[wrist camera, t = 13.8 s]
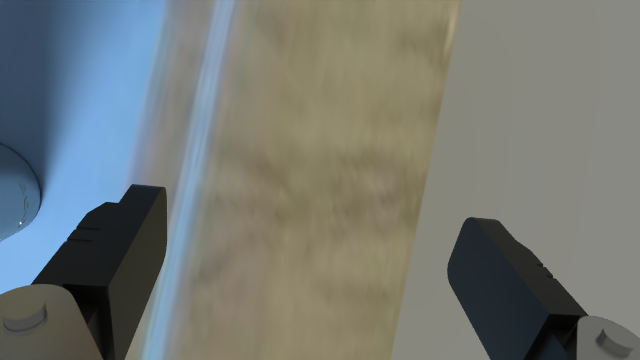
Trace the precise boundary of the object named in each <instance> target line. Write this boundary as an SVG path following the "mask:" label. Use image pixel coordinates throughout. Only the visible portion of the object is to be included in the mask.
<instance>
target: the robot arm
mask: <svg viewBox="0 0 640 360" xmlns="http://www.w3.org/2000/svg"><path fill="white" fill-rule="evenodd" d="M39 204H40V189H39V185H38V182H37V179H36V177H35V175H34V173H33V171H32V169H31V168H30V167H29V166H28V164H27V163H26V162H25V161H24V160H23V159H22V158H21V157H20V156H19V155H18V154H17V153H15V152H14V151H12V150H11V149H9V148H7V147H6V146H3V145H1V144H0V242H1V241H3V240H4V239H6V238H8V237H10V236H12V235H13V234H15V233H17V232H19V231H20V230H22V229H23V228H25V227H26V226H28V225H29V224H30V223H31V221H32V220H33V219H34V218H35V216H36V214H37V212H38V209H39ZM166 247H167V195H166V189H165V187H157V186H147V185H136V184H132V185H131V186H130V187H129V189H128V190H127V192H126V193H125V195H124V196H123V197H122V199H121V200H120V202H119V203H112V202H105V203H104V204H102V205H100V206H99V207H97V208H95V209H93V210H92V211H90V212H88V213H87V214H86V216H85V217H84V218H83V219H82V221H81V222H80V223H79V224H78V226H77V228H76V230H74V231H73V232H72V233H71V234H70V236H69V237H68V238H67V242H64V243H63V244H62V246H61V247H60V248H59V249H58V251H57V252H56V253H55V255H54V256H53V257H52V258H51V260H50V261H49V262H48V263H47V265H46V266H45V267H44V268H43V270H42V271H41V272H40V273H39V275H38V276H37V277H36V278H35V280H34V281H33V282H32V283H31V285H28V286H23V287H19V288H16V289H13V290H10V291H7V292H5V293H3V294H1V295H0V360H124V359H125V357H126V354H127V352H128V349H129V347H130V344H131V342H132V339H133V337H134V334H135V332H136V329H137V327H138V324H139V322H140V319H141V317H142V315H143V312H144V310H145V307H146V305H147V302H148V300H149V297H150V295H151V292H152V290H153V287H154V285H155V282H156V280H157V277H158V275H159V272H160V270H161V267H162V265H163V262H164V258H165V254H166ZM447 272H448V280H449V283H450V285H451V287H452V289H453V291H454V293H455V294H456V296H457V298H458V300H459V302H460V304H461V306H462V307H463V309H464V311H465V313H466V315H467V317H468V319H469V320H470V322H471V324H472V326H473V328H474V330H475V332H476V333H477V335H478V337H479V339H480V341H481V343H482V345H483V346H484V348H485V350H486V352H487V354H488V356H489V357H490V359H491V360H640V339H639V338H638V337H637V336H636V335H635V334H633V333H632V332H630V331H629V330H627V329H626V328H624V327H622V326H621V325H619V324H617V323H615V322H612V321H610V320H608V319H604V318H601V317H596V316H589V315H588V314H587V313H586V312H585V311H584V310H583V309H582V307H581V306H580V305H579V304H578V303H577V302H576V301H575V300H574V299H573V297H572V296H571V295H570V294H569V293H568V292H567V291H566V290H565V288H564V287H563V286H562V285H561V284H560V283H559V282H558V281H557V279H554V278H553V275H552V274H551V273H550V272H549V271H548V269H547V268H546V267H543V264H542V263H541V262H540V260H539V259H538V258H537V257H536V256H535V255H534V254H533V253H532V252H531V251H530V250H529V249H528V248H526V247H525V246H523V245H522V244H520V243H519V242H517V241H516V240H515V239H514V238H513V237H512V235H511V234H510V233H509V232H508V231H507V230H506V229H505V227H504V226H503V225H502V224H501V223H500V222H499V221H498V220H495V219H484V218H474V217H470V218H467V219H466V220H465V222H464V224H463V226H462V228H461V231H460V233H459V236H458V239H457V241H456V244H455V246H454V249H453V252H452V254H451V257H450V259H449V262H448V269H447Z"/></svg>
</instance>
